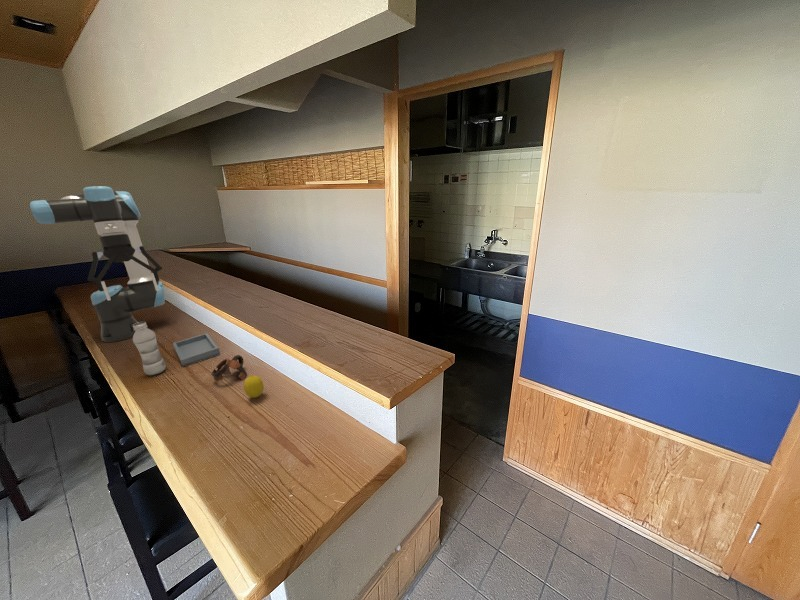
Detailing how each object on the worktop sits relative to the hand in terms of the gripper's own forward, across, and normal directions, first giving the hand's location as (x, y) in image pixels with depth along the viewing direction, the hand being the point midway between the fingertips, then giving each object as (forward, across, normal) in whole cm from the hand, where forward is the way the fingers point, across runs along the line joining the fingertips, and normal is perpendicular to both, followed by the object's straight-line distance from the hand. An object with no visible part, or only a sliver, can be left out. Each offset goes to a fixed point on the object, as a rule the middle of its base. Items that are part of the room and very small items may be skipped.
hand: (134, 295), depth 113 cm
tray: (+28, +13, +5) cm, 32 cm away
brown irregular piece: (+32, +19, -26) cm, 46 cm away
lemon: (+34, +21, -44) cm, 60 cm away
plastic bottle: (+30, -1, -2) cm, 30 cm away
